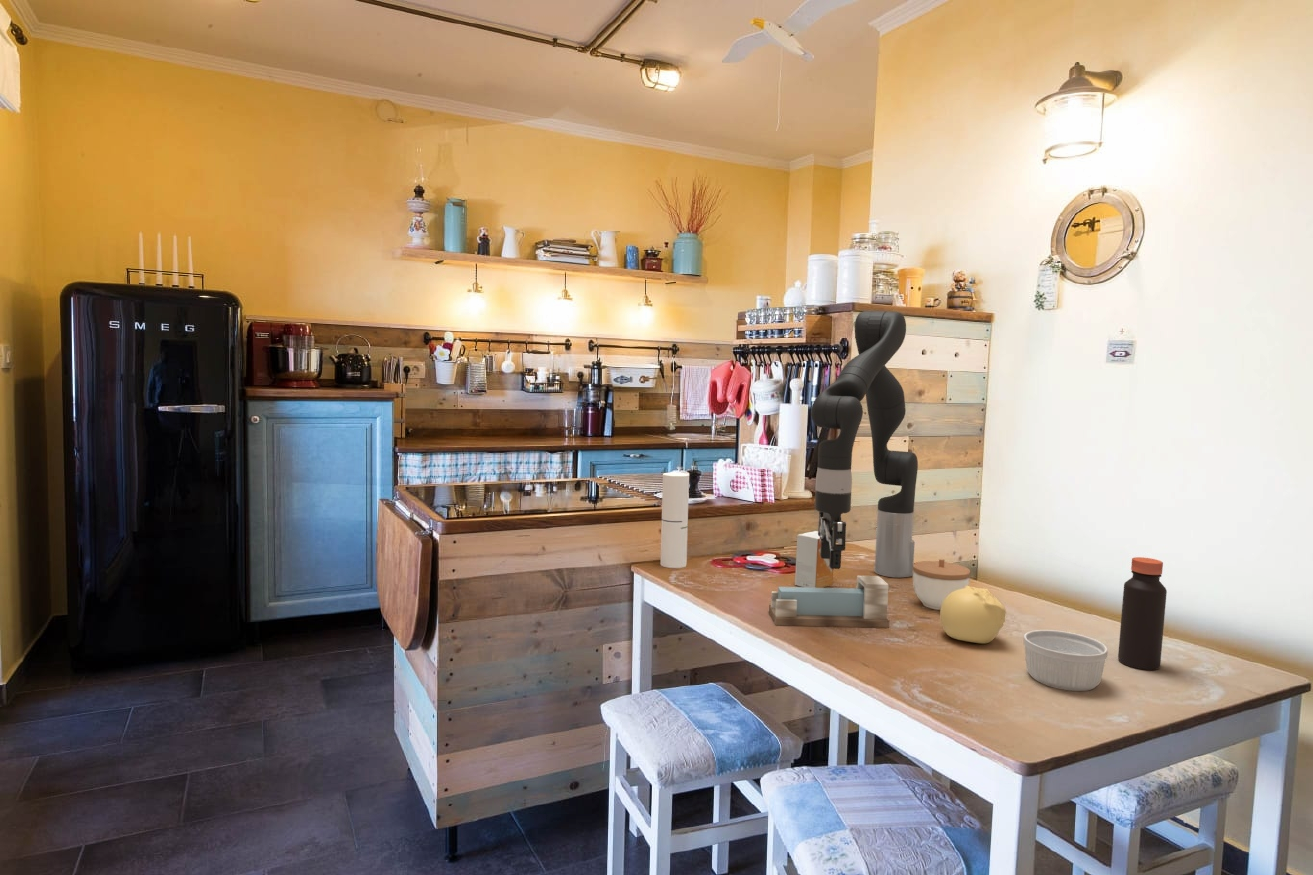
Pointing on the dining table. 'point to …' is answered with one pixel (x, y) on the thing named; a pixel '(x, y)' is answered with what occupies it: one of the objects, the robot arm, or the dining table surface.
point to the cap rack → (872, 616)
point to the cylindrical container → (674, 520)
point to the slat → (825, 600)
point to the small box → (811, 563)
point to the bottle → (1143, 615)
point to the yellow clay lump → (972, 615)
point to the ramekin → (1064, 659)
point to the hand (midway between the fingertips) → (830, 563)
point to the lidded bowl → (938, 581)
